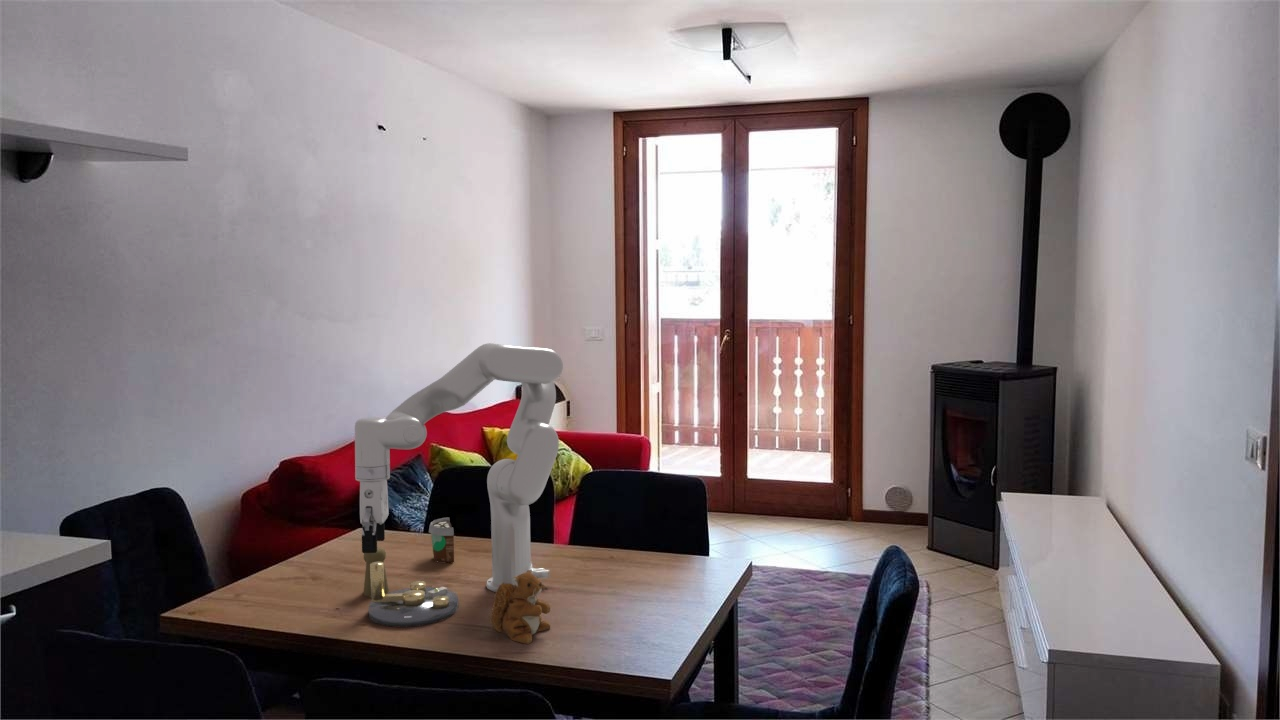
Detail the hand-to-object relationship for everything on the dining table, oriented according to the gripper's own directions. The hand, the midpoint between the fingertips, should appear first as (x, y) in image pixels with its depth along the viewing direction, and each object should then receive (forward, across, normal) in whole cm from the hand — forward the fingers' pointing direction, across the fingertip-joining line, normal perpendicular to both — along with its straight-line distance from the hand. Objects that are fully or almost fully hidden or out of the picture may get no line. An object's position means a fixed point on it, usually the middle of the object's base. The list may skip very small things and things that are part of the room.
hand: (373, 546), depth 201 cm
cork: (+16, +14, +2) cm, 21 cm away
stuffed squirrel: (+15, -16, -33) cm, 40 cm away
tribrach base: (+15, 0, -9) cm, 18 cm away
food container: (+15, +39, -11) cm, 44 cm away
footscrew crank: (+13, 0, -5) cm, 14 cm away
